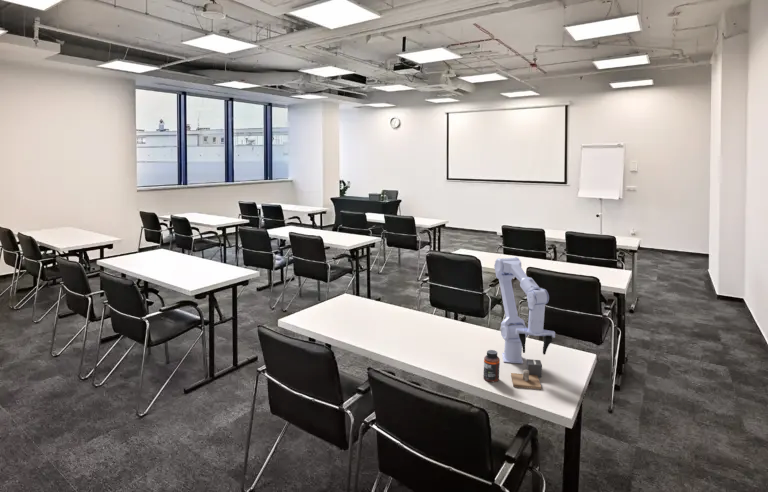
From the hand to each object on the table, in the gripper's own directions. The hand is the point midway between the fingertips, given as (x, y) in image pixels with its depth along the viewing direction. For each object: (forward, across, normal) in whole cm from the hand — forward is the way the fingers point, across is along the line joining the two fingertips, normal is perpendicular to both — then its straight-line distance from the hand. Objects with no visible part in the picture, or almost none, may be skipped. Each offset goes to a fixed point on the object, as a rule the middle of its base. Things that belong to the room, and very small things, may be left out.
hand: (533, 352), depth 184 cm
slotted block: (+9, +1, +1) cm, 9 cm away
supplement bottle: (+10, -16, -7) cm, 20 cm away
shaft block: (+9, -3, -7) cm, 12 cm away
